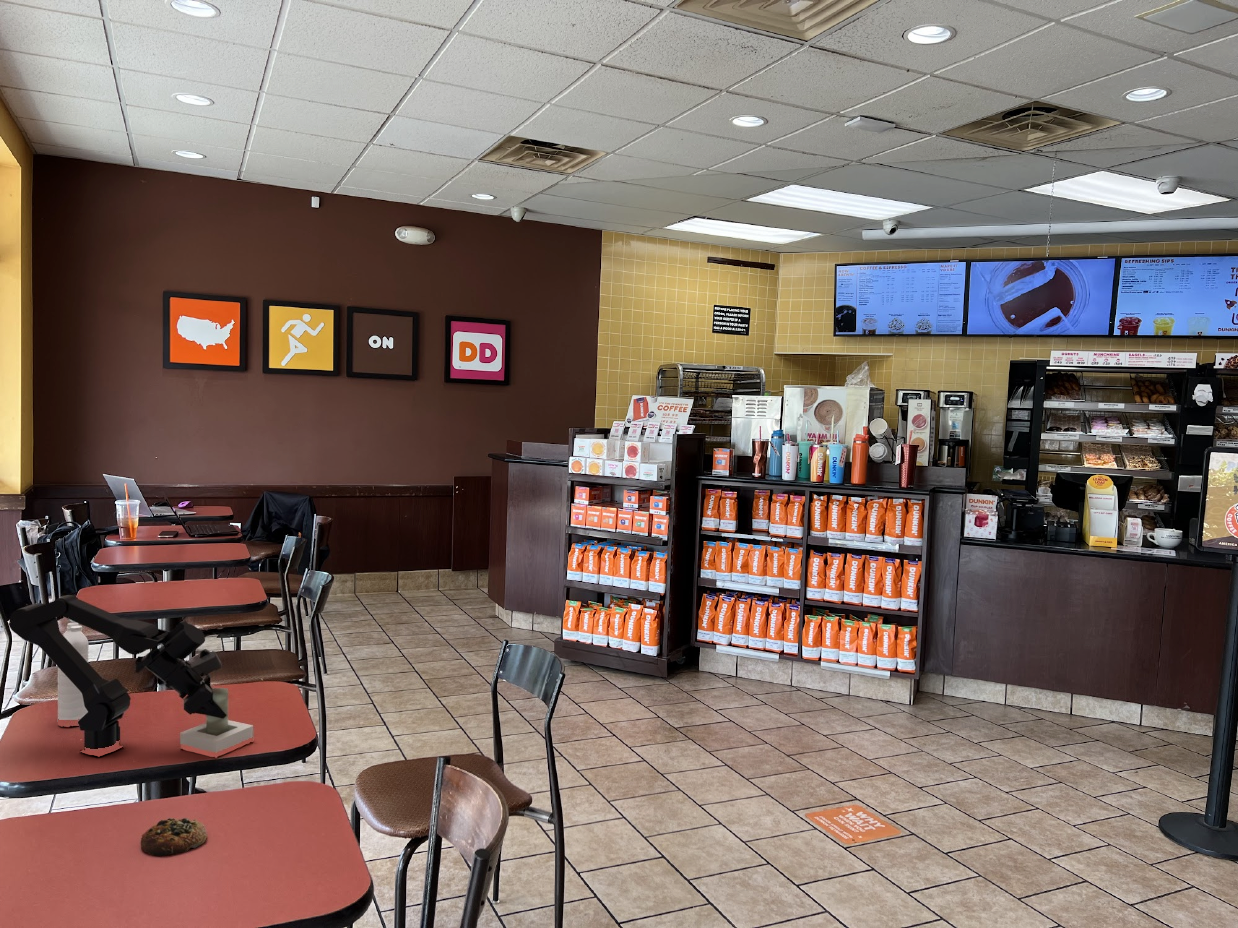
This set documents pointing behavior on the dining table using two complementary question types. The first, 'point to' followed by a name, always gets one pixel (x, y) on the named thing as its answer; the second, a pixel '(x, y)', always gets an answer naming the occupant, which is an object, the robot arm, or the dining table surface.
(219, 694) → the green peg
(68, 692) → the water bottle
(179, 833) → the bread roll
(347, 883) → the dining table surface
